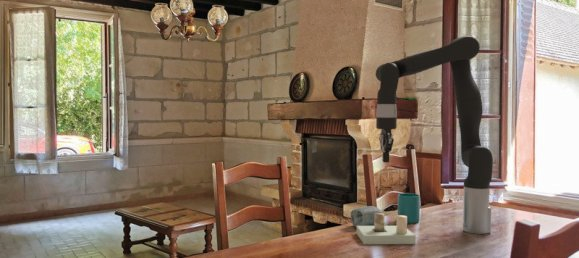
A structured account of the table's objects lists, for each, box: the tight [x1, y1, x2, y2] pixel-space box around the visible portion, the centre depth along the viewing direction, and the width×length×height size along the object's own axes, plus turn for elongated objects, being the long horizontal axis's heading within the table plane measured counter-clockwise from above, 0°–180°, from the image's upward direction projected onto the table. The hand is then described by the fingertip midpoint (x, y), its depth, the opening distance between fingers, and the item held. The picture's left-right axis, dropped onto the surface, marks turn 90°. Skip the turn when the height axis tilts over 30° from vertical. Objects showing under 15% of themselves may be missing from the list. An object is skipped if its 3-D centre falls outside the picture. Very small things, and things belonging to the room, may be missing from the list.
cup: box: [397, 192, 421, 224], centre depth 197 cm, size 9×12×11 cm
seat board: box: [356, 214, 416, 245], centre depth 168 cm, size 18×14×9 cm
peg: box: [374, 212, 386, 232], centre depth 168 cm, size 4×4×9 cm
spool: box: [350, 205, 382, 229], centre depth 186 cm, size 14×10×10 cm
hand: (385, 162), depth 176 cm, fingers closed
